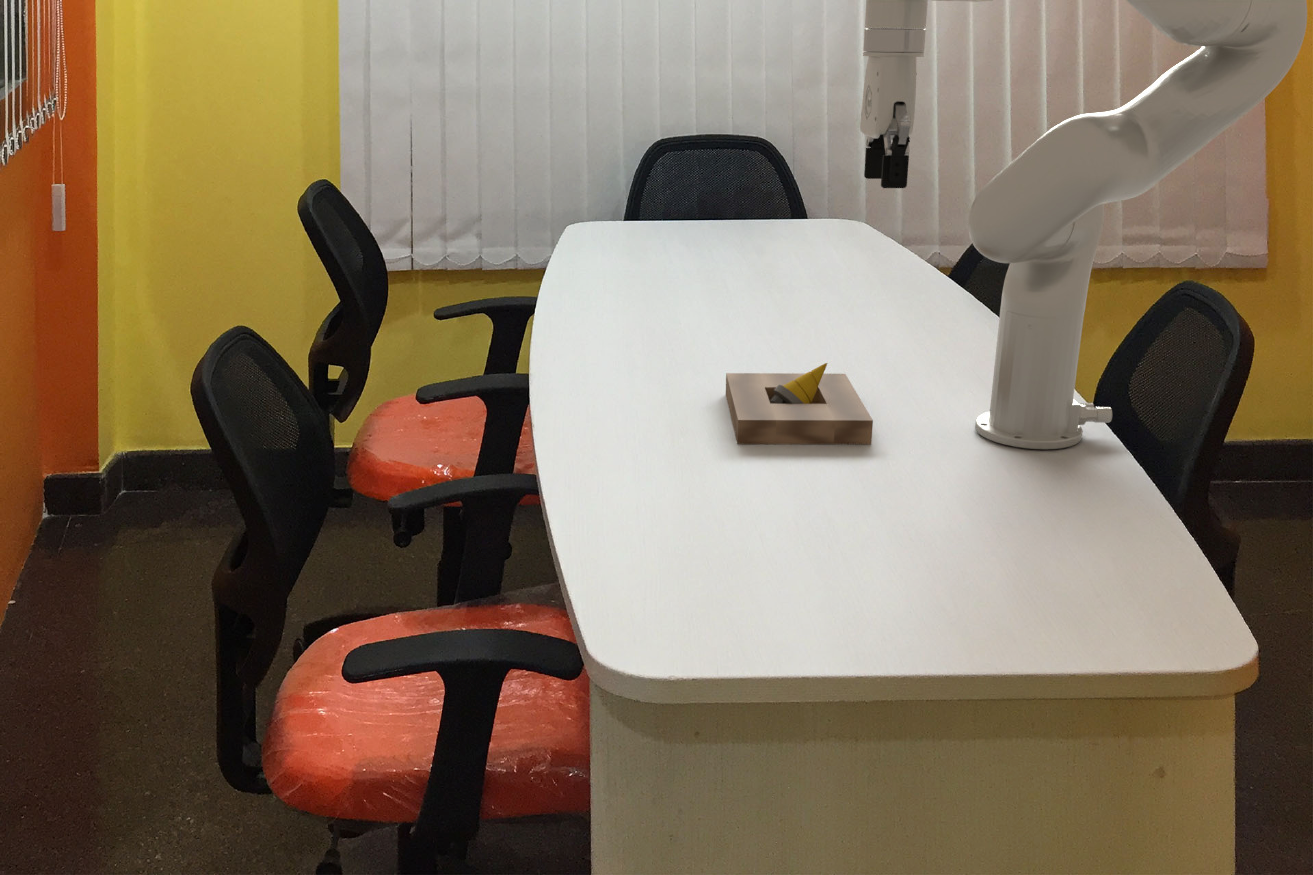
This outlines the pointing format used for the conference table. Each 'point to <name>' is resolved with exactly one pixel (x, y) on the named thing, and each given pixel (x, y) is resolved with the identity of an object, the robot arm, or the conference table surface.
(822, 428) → the holder block
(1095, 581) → the conference table surface
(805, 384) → the drill bit
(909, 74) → the robot arm
